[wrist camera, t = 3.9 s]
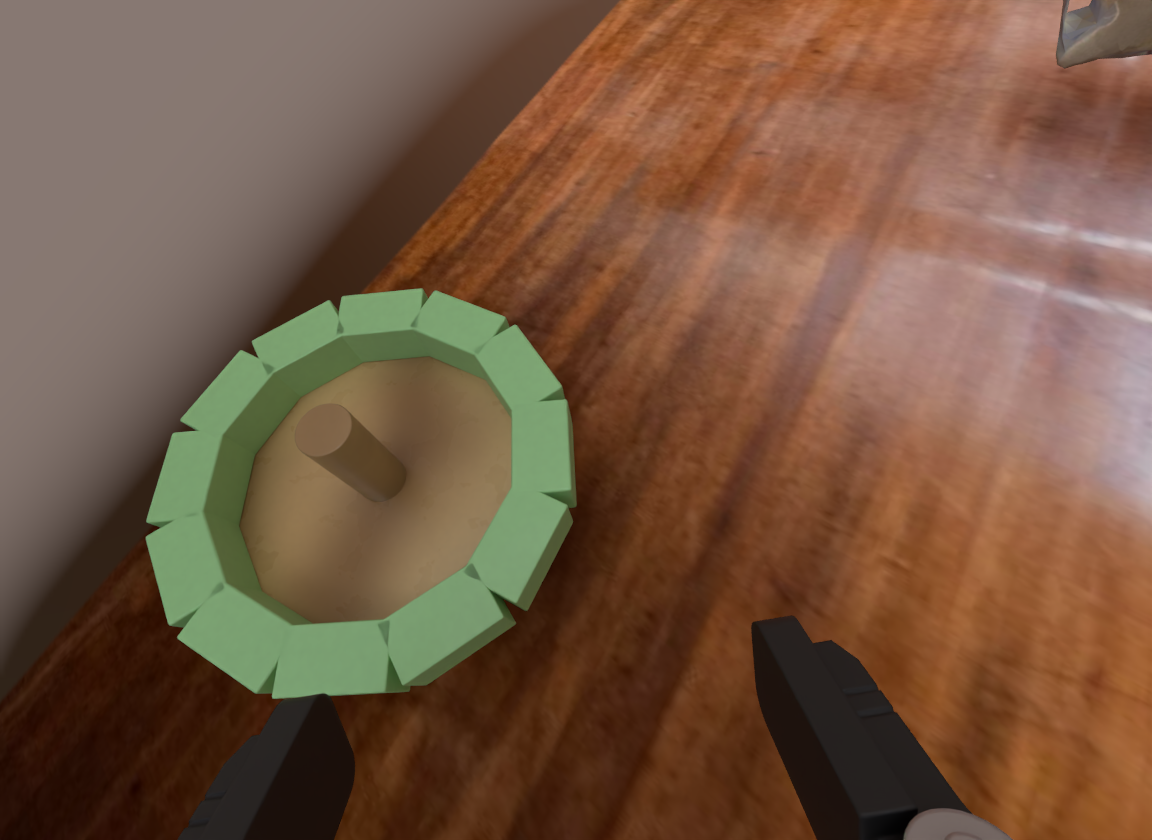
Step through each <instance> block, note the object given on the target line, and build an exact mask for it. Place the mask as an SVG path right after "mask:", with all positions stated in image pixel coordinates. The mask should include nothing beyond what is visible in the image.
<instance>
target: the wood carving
mask: <svg viewBox="0 0 1152 840" xmlns="http://www.w3.org/2000/svg"><path fill="white" fill-rule="evenodd" d="M1068 5H1069V0H1063V8H1062V16H1061V24H1060V32H1059V38H1058V45H1057V51H1056V58H1057V65H1059V66H1061V67H1063V68H1064V69H1065V68H1068V67H1071V66H1074V65H1078V64H1083V63H1087V62H1091V61H1094V60H1097V59H1105V58H1125V57H1132V56H1139V55H1149V54H1152V0H1092V1H1091V3H1090V5H1089V6H1087V7H1084V8H1081V9H1077V10H1074V11H1071V12H1068V13H1067V9H1068Z"/></svg>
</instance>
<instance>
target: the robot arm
mask: <svg viewBox="0 0 1152 840" xmlns="http://www.w3.org/2000/svg"><path fill="white" fill-rule="evenodd" d="M751 631H752V644H753V657H754V670H755V682H756V690H757V695H758V700H759V704H760V707H761V711H762V714H763V717H764V719H765V722H766V724H767V727H768V729H769V731H770V734H771V736H772V738H773V740H774V743H775V745H776V747H777V749H778V752H779V754H780V756H781V759H782V761H783V763H784V765H785V768H786V770H787V772H788V774H789V777H790V779H791V781H792V784H793V786H794V788H795V790H796V793H797V795H798V797H799V799H800V802H801V804H802V806H803V809H804V811H805V813H806V815H807V818H808V820H809V822H810V824H811V827H812V829H813V831H814V833H815V836H816V838H817V840H1013V839H1011V838H1010V837H1009V836H1008V835H1007V834H1006V833H1004V832H1003V831H1001V830H1000V829H999V828H997V827H996V826H994V825H992V824H991V823H989V822H987V821H986V820H984V819H982V818H979V817H977V816H975V815H973V814H972V813H971V812H970V811H969V810H968V809H967V808H966V806H965V805H964V804H963V803H962V802H961V800H960V799H959V798H958V796H957V795H956V794H955V792H954V791H953V790H952V788H951V787H950V785H949V784H948V783H947V781H946V780H945V778H944V777H943V776H942V774H941V773H940V772H939V770H938V769H937V767H936V766H935V765H934V763H933V762H932V761H931V759H930V758H929V756H928V755H927V754H926V752H925V751H924V750H923V748H922V747H921V745H920V744H919V743H918V741H917V740H916V738H915V737H914V736H913V734H912V733H911V732H910V730H909V729H908V727H907V726H906V725H905V723H904V722H903V721H902V719H901V718H900V716H899V715H898V714H897V712H896V713H895V712H894V711H893V707H892V705H891V704H890V703H889V701H888V700H887V698H886V697H885V696H884V694H883V693H882V692H881V690H878V688H877V685H876V683H875V682H874V681H873V679H872V678H871V676H870V675H869V674H868V672H867V671H866V670H865V668H864V667H863V665H862V664H861V663H860V661H859V660H858V659H857V658H855V657H854V656H853V655H851V654H850V653H848V652H847V651H846V650H844V649H843V648H841V647H840V646H839V645H837V644H836V643H834V642H833V641H832V640H830V641H824V642H818V643H812V642H811V640H810V638H809V637H808V635H807V634H806V632H805V631H804V629H803V628H802V626H801V624H800V623H799V621H798V620H797V619H796V618H795V617H794V616H792V615H791V616H785V617H779V618H774V619H768V620H762V621H756V622H753V623H752V626H751ZM354 775H355V761H354V755H353V751H352V748H351V746H350V743H349V741H348V738H347V736H346V733H345V731H344V728H343V726H342V724H341V721H340V719H339V716H338V714H337V711H336V709H335V706H334V704H333V701H332V699H331V698H330V696H329V695H327V694H325V693H321V694H315V695H309V696H303V697H298V698H292V699H286V700H283V701H281V702H280V703H279V704H278V705H277V706H276V708H275V709H274V711H273V713H272V714H271V716H270V718H269V720H268V721H267V723H266V725H265V726H264V728H263V730H262V732H261V733H260V735H255V736H251V737H250V738H249V739H248V740H247V741H246V742H245V743H244V745H243V746H242V747H241V748H240V749H239V750H238V751H237V752H236V753H235V754H234V755H233V756H232V757H231V758H230V759H229V760H228V761H227V762H226V763H225V764H224V766H223V767H222V769H221V770H220V772H219V774H218V775H217V777H216V778H215V780H214V782H213V783H212V785H211V786H210V788H209V790H208V791H207V793H206V795H205V800H204V801H201V803H200V804H199V806H198V807H197V809H196V811H195V812H194V814H193V816H192V817H191V819H190V820H189V826H188V828H184V830H183V832H182V833H181V835H180V837H179V838H178V840H334V838H335V835H336V832H337V829H338V827H339V824H340V821H341V818H342V816H343V813H344V810H345V807H346V804H347V802H348V799H349V796H350V793H351V790H352V787H353V782H354Z"/></svg>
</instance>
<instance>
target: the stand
mask: <svg viewBox="0 0 1152 840" xmlns="http://www.w3.org/2000/svg"><path fill="white" fill-rule="evenodd" d="M510 488H511V417H510V416H509V414H508V413H507V411H506V410H505V408H504V407H503V405H502V404H501V402H500V401H499V399H498V398H497V396H496V395H495V393H494V392H493V390H492V389H491V387H490V386H489V384H488V383H487V381H486V380H484V379H482V378H480V377H477V376H475V375H473V374H470V373H468V372H466V371H463V370H461V369H459V368H456V367H454V366H451V365H449V364H447V363H444V362H442V361H440V360H437V359H435V358H433V357H430V356H426V357H416V358H405V359H394V360H383V361H372V362H363V363H361V364H360V365H358V366H356V367H354V368H352V369H351V370H349V371H347V372H345V373H343V374H342V375H340V376H338V377H336V378H334V379H333V380H331V381H329V382H327V383H325V384H324V385H322V386H320V387H318V388H316V389H315V390H313V391H311V392H309V393H307V394H306V395H304V396H302V397H301V398H300V399H299V400H298V401H297V403H296V404H295V405H294V406H293V408H292V409H291V410H290V412H289V413H288V414H287V415H286V417H285V418H284V419H283V420H282V422H281V423H280V424H279V425H278V427H277V428H276V429H275V431H274V432H273V433H272V434H271V436H270V437H269V438H268V439H267V441H266V442H265V443H264V445H263V446H262V447H261V448H260V450H259V451H258V452H257V453H256V455H255V458H254V462H253V467H252V471H251V475H250V480H249V484H248V489H247V493H246V498H245V502H244V506H243V511H242V515H241V520H240V524H239V527H240V530H241V533H242V536H243V539H244V541H245V544H246V547H247V550H248V553H249V556H250V558H251V561H252V564H253V567H254V570H255V573H256V575H257V578H258V581H259V584H260V587H261V590H262V591H263V592H264V593H266V594H267V595H269V596H270V597H272V598H274V599H275V600H277V601H278V602H280V603H282V604H283V605H285V606H286V607H288V608H289V609H291V610H293V611H294V612H296V613H297V614H299V615H301V616H302V617H304V618H305V619H307V620H308V621H310V622H312V623H313V624H316V623H331V622H347V621H363V620H378V619H385V618H386V617H388V616H390V615H391V614H393V613H394V612H396V611H397V610H399V609H400V608H402V607H403V606H405V605H406V604H408V603H410V602H411V601H413V600H414V599H416V598H417V597H419V596H420V595H422V594H423V593H425V592H426V591H428V590H430V589H431V588H433V587H434V586H436V585H437V584H439V583H440V582H442V581H443V580H445V579H446V578H448V577H450V576H451V575H453V574H454V573H456V572H457V571H459V570H460V569H462V568H463V567H465V566H466V565H467V563H468V561H469V560H470V558H471V556H472V554H473V553H474V551H475V549H476V548H477V546H478V544H479V542H480V541H481V539H482V537H483V535H484V534H485V532H486V530H487V528H488V527H489V525H490V523H491V521H492V520H493V518H494V516H495V515H496V513H497V511H498V509H499V508H500V506H501V504H502V502H503V501H504V499H505V497H506V495H507V494H508V492H509V490H510Z"/></svg>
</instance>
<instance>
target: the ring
mask: <svg viewBox="0 0 1152 840" xmlns="http://www.w3.org/2000/svg"><path fill="white" fill-rule="evenodd" d="M252 344H253V346H254V349H255V351H256V353H257V355H258V357H259V358H257V357H255V356H253V355H250V354H248V353H246V352H244V351H242V350H241V351H239V352H238V354H237V355H236V356H235V357H234V358H233V359H232V360H231V362H230V363H229V364H228V365H227V366H226V368H225V369H224V370H223V371H222V372H221V373H220V374H219V376H218V377H217V378H216V379H215V380H214V381H213V382H212V384H211V385H210V386H209V387H208V388H207V389H206V390H205V392H204V393H203V394H202V395H201V396H200V397H199V399H198V400H197V401H196V402H195V403H194V404H193V405H192V407H191V408H190V409H189V410H188V411H187V412H186V414H185V415H184V416H183V417H182V418H181V422H183V423H185V424H186V425H188V426H190V427H192V428H193V429H195V430H197V431H189V432H177V433H173V434H172V437H171V441H170V444H169V447H168V450H167V454H166V457H165V460H164V464H163V467H162V470H161V474H160V477H159V480H158V484H157V487H156V490H155V493H154V497H153V500H152V503H151V507H150V510H149V513H148V517H147V520H146V522H147V523H149V524H152V525H155V526H158V527H161V528H160V529H158V530H156V531H155V532H153V533H151V534H149V535H148V536H146V542H147V546H148V549H149V553H150V557H151V561H152V564H153V568H154V572H155V576H156V580H157V583H158V587H159V591H160V595H161V599H162V602H163V606H164V610H165V614H166V618H167V621H168V624H169V625H170V626H177V627H184V628H183V630H182V631H181V633H180V634H179V635H178V637H177V638H178V639H179V640H180V641H181V642H183V643H184V644H186V645H187V646H189V647H190V648H191V649H193V650H194V651H196V652H197V653H199V654H200V655H201V656H203V657H204V658H206V659H207V660H208V661H210V662H211V663H213V664H214V665H216V666H217V667H218V668H220V669H221V670H223V671H224V672H226V673H227V674H228V675H230V676H231V677H233V678H234V679H235V680H237V681H238V682H240V683H241V684H243V685H244V686H245V687H247V688H248V689H250V690H251V691H253V692H254V693H257V694H259V693H272V698H273V699H280V698H298V697H303V696H309V695H315V694H321V693H325V694H327V695H329V696H340V695H358V694H376V693H394V692H409V691H410V686H424V685H428V684H429V683H431V682H432V681H434V680H435V679H436V678H438V677H439V676H441V675H442V674H444V673H445V672H447V671H448V670H450V669H451V668H453V667H454V666H455V665H457V664H458V663H460V662H461V661H463V660H464V659H466V658H467V657H469V656H470V655H472V654H473V653H475V652H476V651H477V650H479V649H480V648H482V647H483V646H485V645H486V644H488V643H489V642H491V641H492V640H494V639H495V638H496V637H498V636H499V635H501V634H502V633H504V632H505V631H507V630H508V629H510V628H511V627H513V626H514V625H515V624H516V622H515V620H514V618H513V616H512V615H511V613H510V611H509V609H508V607H507V606H506V604H505V602H504V600H506V601H508V602H510V603H512V604H514V605H515V606H517V607H519V608H521V609H523V610H525V611H527V610H528V609H529V607H530V605H531V603H532V601H533V599H534V597H535V595H536V593H537V591H538V590H539V588H540V586H541V584H542V582H543V580H544V578H545V576H546V574H547V572H548V570H549V568H550V566H551V564H552V562H553V560H554V558H555V557H556V555H557V553H558V551H559V549H560V547H561V545H562V543H563V541H564V539H565V537H566V535H567V533H568V531H569V529H570V527H571V526H572V524H573V519H572V516H571V514H570V511H569V508H574V507H576V505H577V502H576V483H575V463H574V444H573V425H572V419H571V415H570V410H569V406H568V401H567V400H566V399H565V397H564V392H563V388H562V385H561V384H560V382H559V381H558V380H557V378H556V377H555V376H554V374H553V373H552V372H551V370H550V369H549V368H548V366H547V365H546V364H545V362H544V361H543V360H542V358H541V357H540V356H539V354H538V353H537V352H536V350H535V349H534V348H533V346H532V345H531V344H530V342H529V341H528V340H527V338H526V337H525V336H524V334H523V333H522V332H521V330H520V329H519V328H518V326H517V325H513V326H512V327H510V328H509V325H508V322H507V319H506V317H504V316H501V315H499V314H496V313H494V312H491V311H488V310H486V309H483V308H481V307H478V306H475V305H473V304H470V303H467V302H465V301H462V300H460V299H457V298H454V297H452V296H449V295H447V294H444V293H441V292H439V291H434V292H433V293H432V295H431V296H430V297H429V299H428V298H427V296H426V294H425V292H424V290H423V289H422V288H421V289H411V290H401V291H391V292H381V293H371V294H361V295H350V296H343V297H342V298H341V304H340V310H339V311H338V310H337V309H336V308H335V306H334V305H333V304H332V303H331V301H329V300H328V301H327V302H325V303H323V304H321V305H319V306H317V307H315V308H313V309H311V310H309V311H308V312H306V313H304V314H302V315H300V316H298V317H296V318H294V319H292V320H291V321H289V322H287V323H285V324H283V325H281V326H279V327H277V328H275V329H274V330H272V331H270V332H268V333H266V334H264V335H262V336H261V337H258V338H257V339H255V340H253V341H252ZM426 356H430V357H433V358H435V359H437V360H440V361H442V362H444V363H447V364H449V365H451V366H454V367H456V368H459V369H461V370H463V371H466V372H468V373H470V374H473V375H475V376H477V377H480V378H482V379H484V380H486V381H487V383H488V384H489V386H490V387H491V389H492V390H493V392H494V393H495V395H496V396H497V398H498V399H499V401H500V402H501V404H502V405H503V407H504V408H505V410H506V411H507V413H508V414H509V416H510V417H511V488H510V490H509V492H508V494H507V495H506V497H505V499H504V501H503V502H502V504H501V506H500V508H499V509H498V511H497V513H496V515H495V516H494V518H493V520H492V521H491V523H490V525H489V527H488V528H487V530H486V532H485V534H484V535H483V537H482V539H481V541H480V542H479V544H478V546H477V548H476V549H475V551H474V553H473V554H472V556H471V558H470V560H469V561H468V563H467V565H466V566H465V567H463V568H462V569H460V570H459V571H457V572H456V573H454V574H453V575H451V576H450V577H448V578H446V579H445V580H443V581H442V582H440V583H439V584H437V585H436V586H434V587H433V588H431V589H430V590H428V591H426V592H425V593H423V594H422V595H420V596H419V597H417V598H416V599H414V600H413V601H411V602H410V603H408V604H406V605H405V606H403V607H402V608H400V609H399V610H397V611H396V612H394V613H393V614H391V615H390V616H388V617H386V618H385V619H378V620H363V621H347V622H331V623H316V624H313V623H312V622H310V621H308V620H307V619H305V618H304V617H302V616H301V615H299V614H297V613H296V612H294V611H293V610H291V609H289V608H288V607H286V606H285V605H283V604H282V603H280V602H278V601H277V600H275V599H274V598H272V597H270V596H269V595H267V594H266V593H264V592H263V591H262V590H261V587H260V584H259V581H258V578H257V575H256V573H255V570H254V567H253V564H252V561H251V558H250V556H249V553H248V550H247V547H246V544H245V541H244V539H243V536H242V533H241V530H240V527H239V524H240V520H241V515H242V511H243V506H244V502H245V498H246V493H247V489H248V484H249V480H250V475H251V471H252V467H253V462H254V458H255V455H256V453H257V452H258V451H259V450H260V448H261V447H262V446H263V445H264V443H265V442H266V441H267V439H268V438H269V437H270V436H271V434H272V433H273V432H274V431H275V429H276V428H277V427H278V425H279V424H280V423H281V422H282V420H283V419H284V418H285V417H286V415H287V414H288V413H289V412H290V410H291V409H292V408H293V406H294V405H295V404H296V403H297V401H298V400H299V399H300V398H301V397H302V396H304V395H306V394H307V393H309V392H311V391H313V390H315V389H316V388H318V387H320V386H322V385H324V384H325V383H327V382H329V381H331V380H333V379H334V378H336V377H338V376H340V375H342V374H343V373H345V372H347V371H349V370H351V369H352V368H354V367H356V366H358V365H360V364H361V363H363V362H372V361H383V360H394V359H405V358H416V357H426ZM502 598H503V599H504V600H503V599H502Z"/></svg>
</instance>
